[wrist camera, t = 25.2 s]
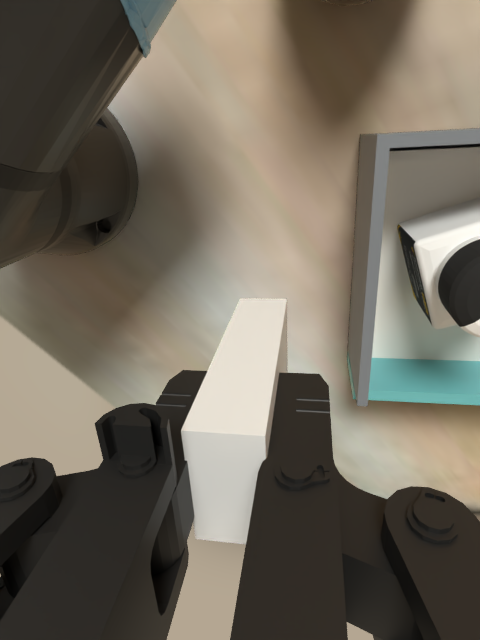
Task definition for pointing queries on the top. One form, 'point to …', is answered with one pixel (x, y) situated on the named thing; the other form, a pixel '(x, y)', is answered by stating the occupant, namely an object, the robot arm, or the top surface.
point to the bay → (379, 235)
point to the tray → (397, 296)
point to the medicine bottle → (445, 264)
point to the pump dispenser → (347, 2)
